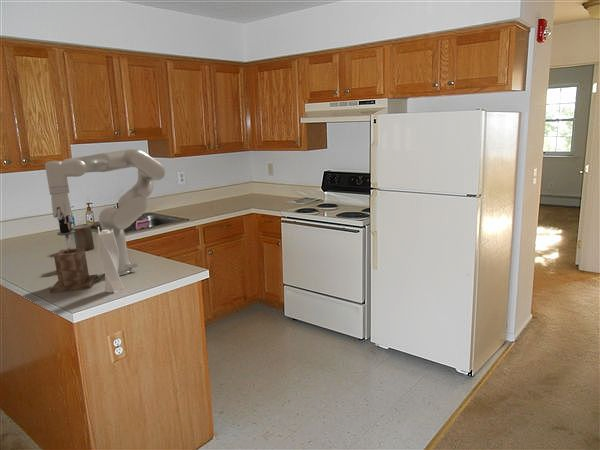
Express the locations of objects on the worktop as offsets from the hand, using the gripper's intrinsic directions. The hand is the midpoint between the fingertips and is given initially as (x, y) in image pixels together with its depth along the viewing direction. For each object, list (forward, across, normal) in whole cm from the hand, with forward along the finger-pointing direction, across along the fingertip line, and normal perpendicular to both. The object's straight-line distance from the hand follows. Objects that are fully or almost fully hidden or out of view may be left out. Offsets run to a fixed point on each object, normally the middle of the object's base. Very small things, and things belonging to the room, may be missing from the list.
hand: (66, 231), depth 201 cm
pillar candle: (+25, -67, -11) cm, 72 cm away
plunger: (+14, 0, 0) cm, 14 cm away
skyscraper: (+25, +14, +19) cm, 34 cm away
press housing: (+25, 0, 0) cm, 25 cm away
